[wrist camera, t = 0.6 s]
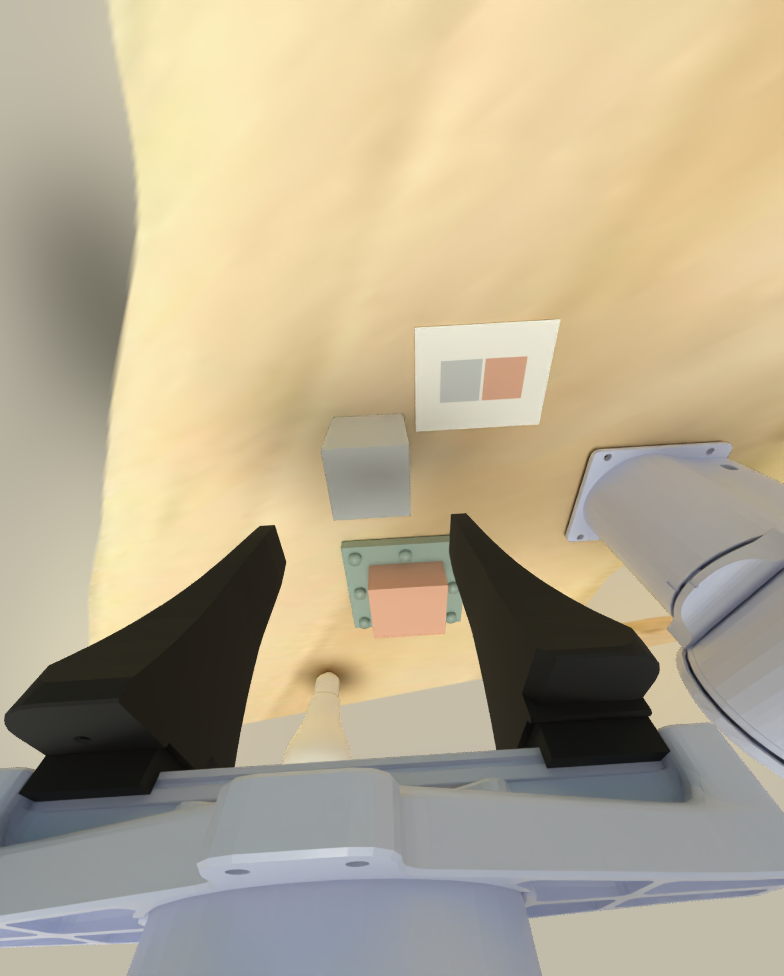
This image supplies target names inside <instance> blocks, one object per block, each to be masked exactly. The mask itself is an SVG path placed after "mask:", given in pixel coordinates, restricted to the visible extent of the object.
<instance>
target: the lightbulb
mask: <svg viewBox="0 0 784 976" xmlns="http://www.w3.org/2000/svg"><path fill="white" fill-rule="evenodd" d="M338 696H339V678H338V677H337V676H336V675H334V674H333V673H332V672H326V673H324V674H322V675H320V676H319V677H318V678H317V680H316V684H315V688H314V693H313V697H311V699H310V702H309V707H308V710H307V713H306V716H305V718H304V720H303V722H302V724H301V726H300V728H299V729H298V730H297V732H296V733H295V735H294V736H293V738H292V740H291V741H290V743H289V744H288V746H287V748H286V751H285V754H284V756H283V760H282V764H293V763H308V762H324V761H339V760H351V756H350V748H349V745H348V742H347V738H346V736H345V733H344V730H343V728H342V724H341V719H340V699H339V697H338Z"/></svg>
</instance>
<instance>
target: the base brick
mask: <svg viewBox="0 0 784 976" xmlns="http://www.w3.org/2000/svg"><path fill="white" fill-rule="evenodd" d="M368 595H369V603H370V610H371V618H372V625H373V633H374V638H389V637H405V636H422V635H438V634H445V626H446V611H447V596H448V582H447V578H446V574H445V570H444V566H443V562H442V561H434V562H418V563H402V564H385V565H369V574H368Z"/></svg>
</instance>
